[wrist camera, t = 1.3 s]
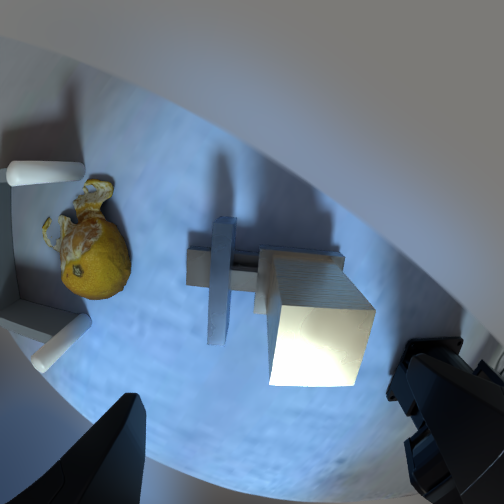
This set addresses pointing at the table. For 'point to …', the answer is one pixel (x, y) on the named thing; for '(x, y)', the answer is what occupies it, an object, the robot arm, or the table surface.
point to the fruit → (91, 247)
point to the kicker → (293, 309)
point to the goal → (4, 274)
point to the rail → (202, 258)
